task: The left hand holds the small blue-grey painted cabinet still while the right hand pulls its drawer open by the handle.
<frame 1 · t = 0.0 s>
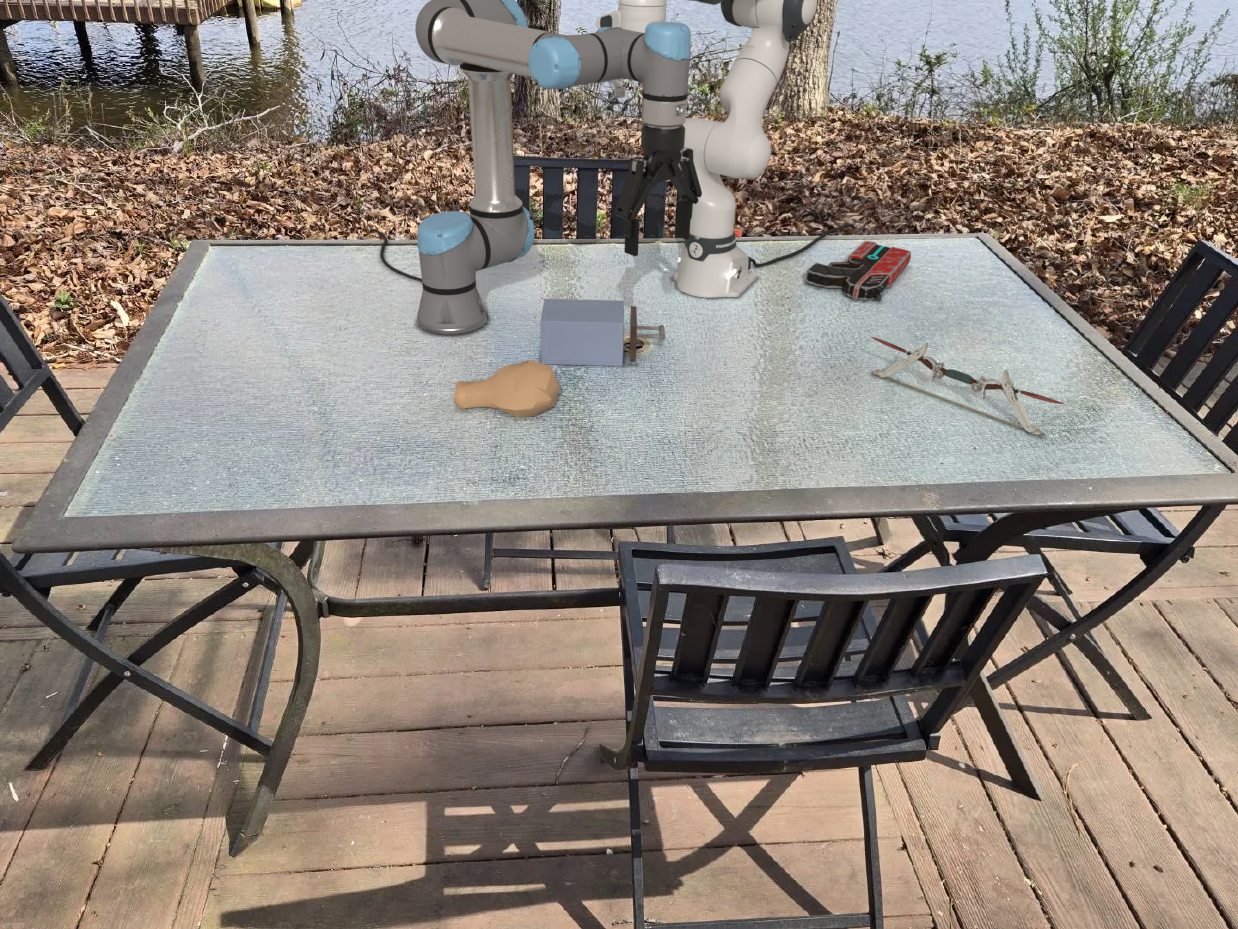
left hand: (657, 245, 161), 28 cm above the table, tool pointing down, fingers open, 13 cm apart
right hand: (639, 100, 170), 48 cm above the table, tool pointing down, fingers open, 8 cm apart
cabinet: (583, 352, 186), on the table
drawer: (613, 332, 183), point 5 cm above the table, slide at 1.5 cm
squash: (507, 408, 165), on the table
bow: (952, 403, 172), on the table
gun: (859, 277, 226), on the table
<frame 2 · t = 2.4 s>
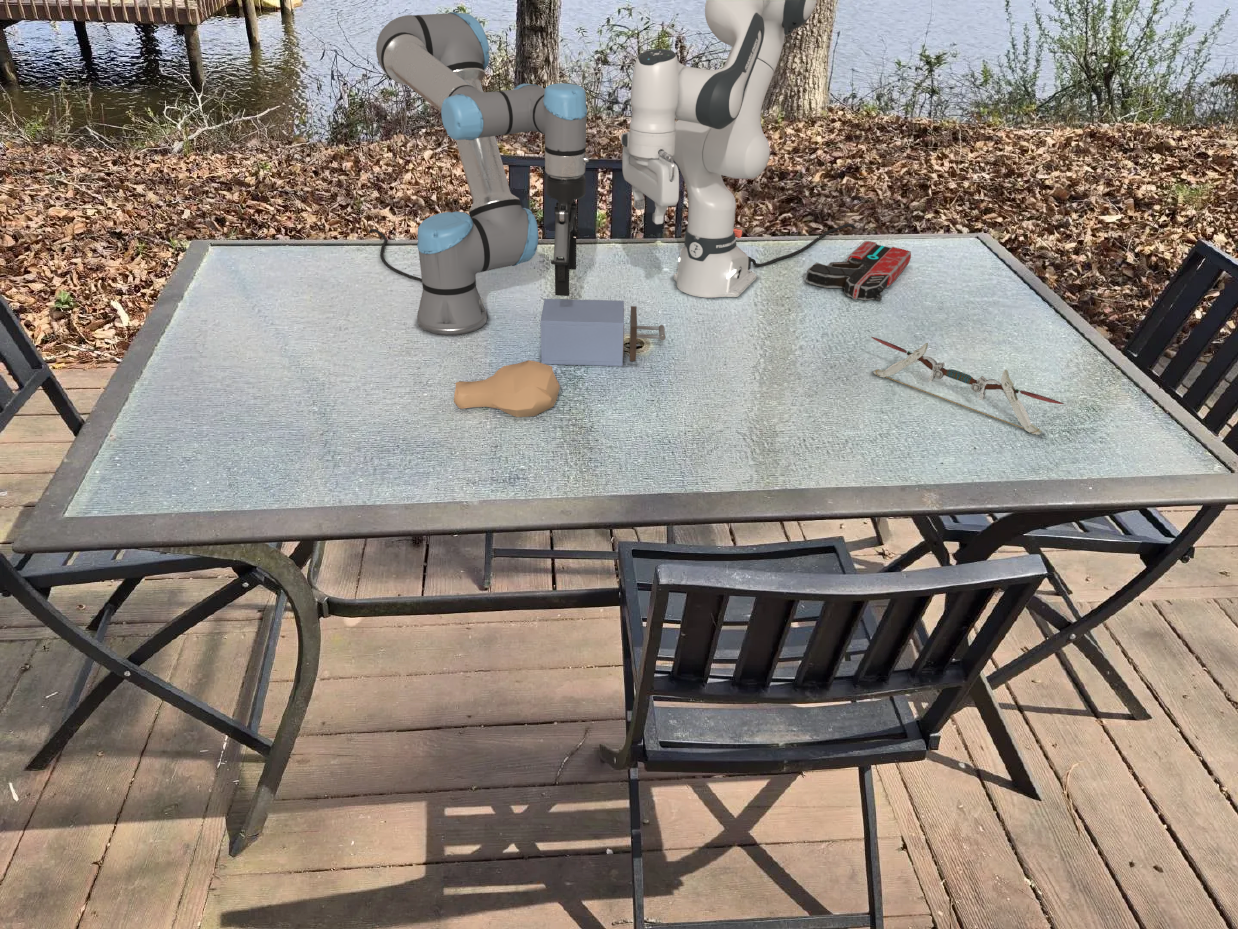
left hand: (566, 281, 176), 16 cm above the table, tool pointing down, fingers open, 13 cm apart
right hand: (648, 215, 175), 28 cm above the table, tool pointing down, fingers open, 8 cm apart
nothing on the table moved.
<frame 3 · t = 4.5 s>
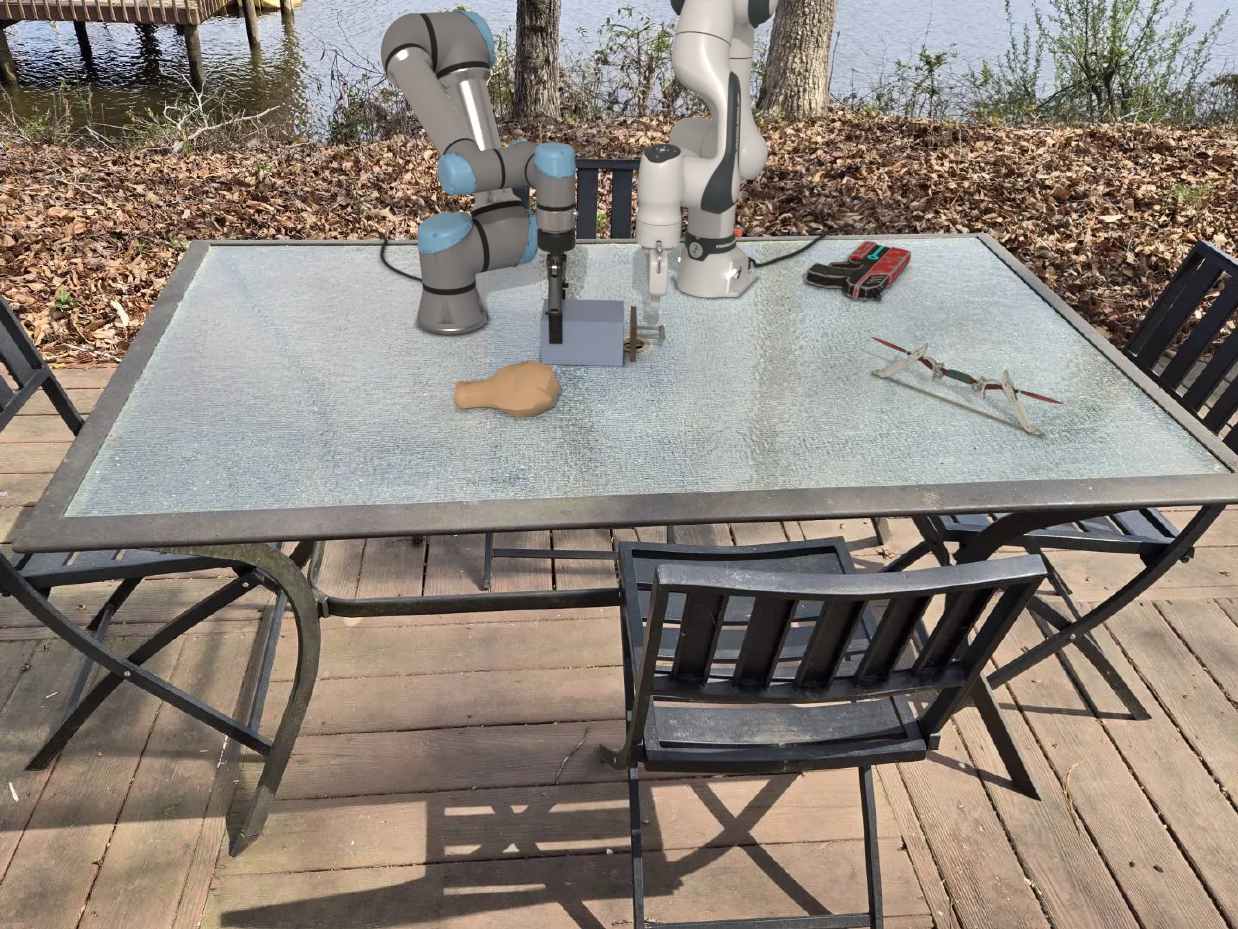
left hand: (557, 330, 183), 5 cm above the table, tool pointing down, fingers closed on cabinet, 11 cm apart
right hand: (654, 299, 179), 12 cm above the table, tool pointing down, fingers open, 5 cm apart
cabinet: (583, 352, 186), on the table, touching left hand
everything else where it was.
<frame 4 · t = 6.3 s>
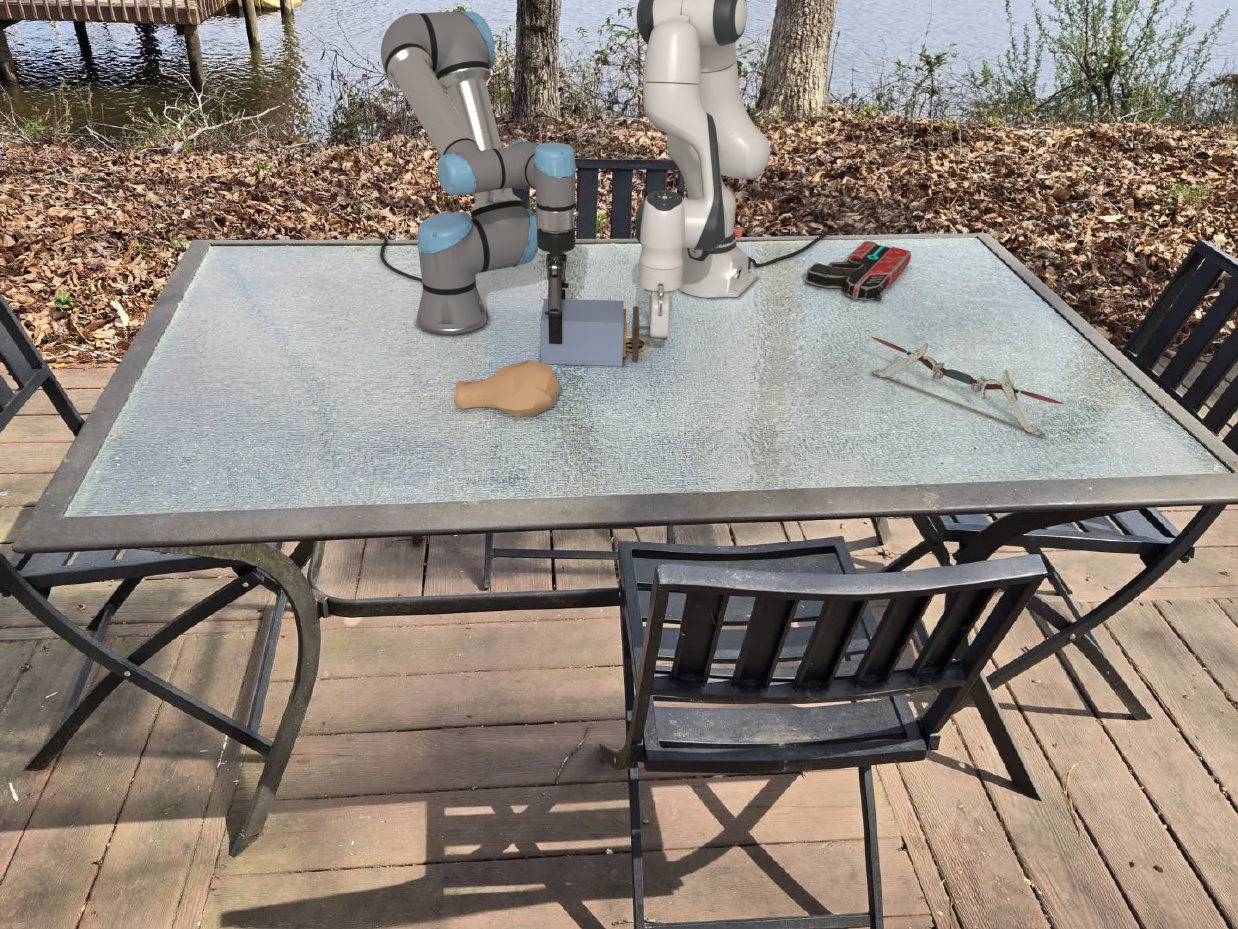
left hand: (557, 330, 183), 5 cm above the table, tool pointing down, fingers closed on cabinet, 11 cm apart
right hand: (656, 338, 184), 4 cm above the table, tool pointing down, fingers closed, pressing on drawer
cabinet: (582, 352, 186), on the table, touching left hand
drawer: (615, 332, 183), point 5 cm above the table, slide at 2.0 cm, touching right hand
everything else where it was.
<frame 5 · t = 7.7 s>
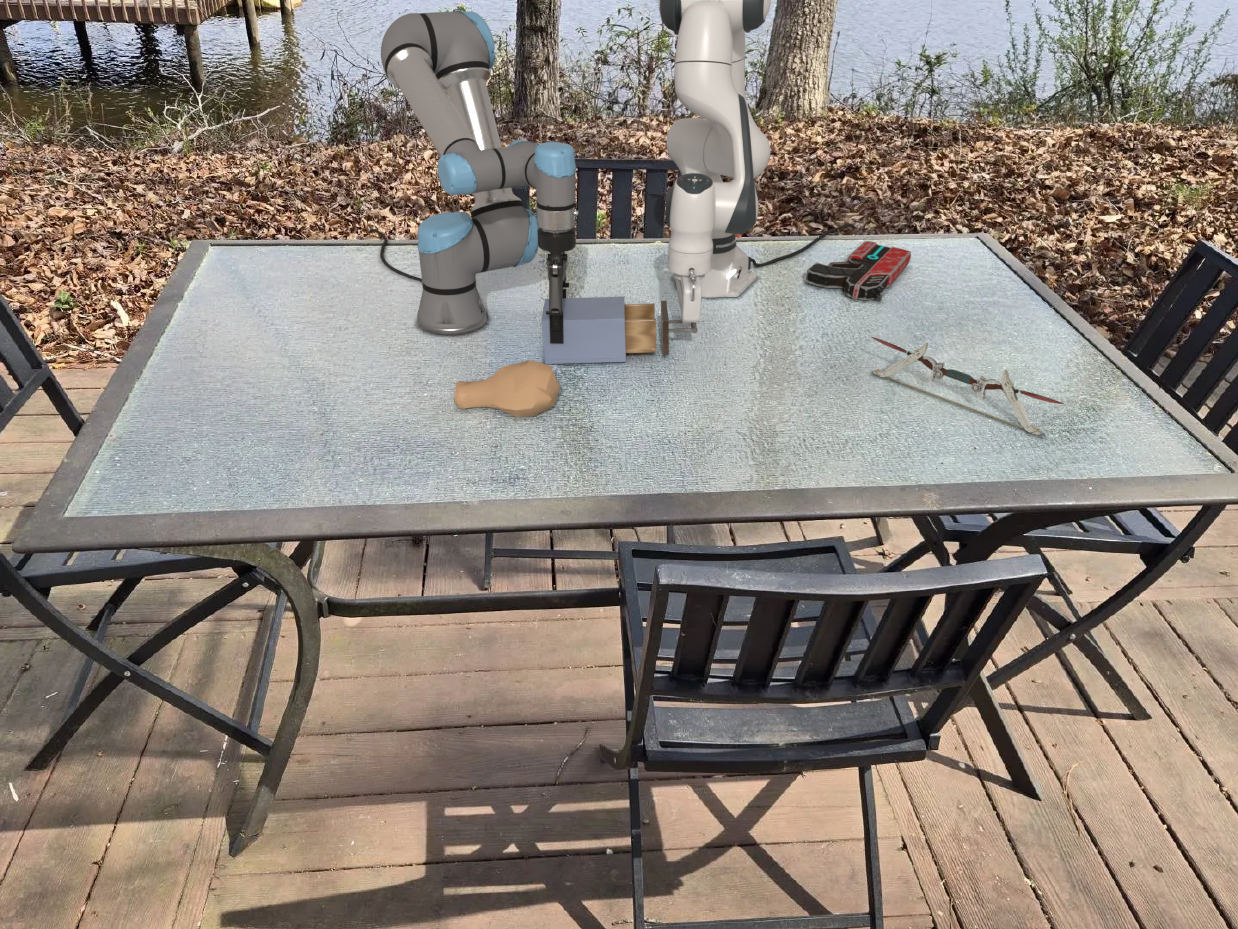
left hand: (558, 330, 183), 5 cm above the table, tool pointing down, fingers closed on cabinet, 11 cm apart
right hand: (686, 323, 182), 7 cm above the table, tool pointing down, fingers closed
cabinet: (586, 350, 186), on the table, touching left hand
drawer: (644, 328, 183), point 6 cm above the table, slide at 7.7 cm
everything else where it was.
when the left hand's fingers open (5 cm above the table, at t = 9.0 s): cabinet stays where it is, on the table.
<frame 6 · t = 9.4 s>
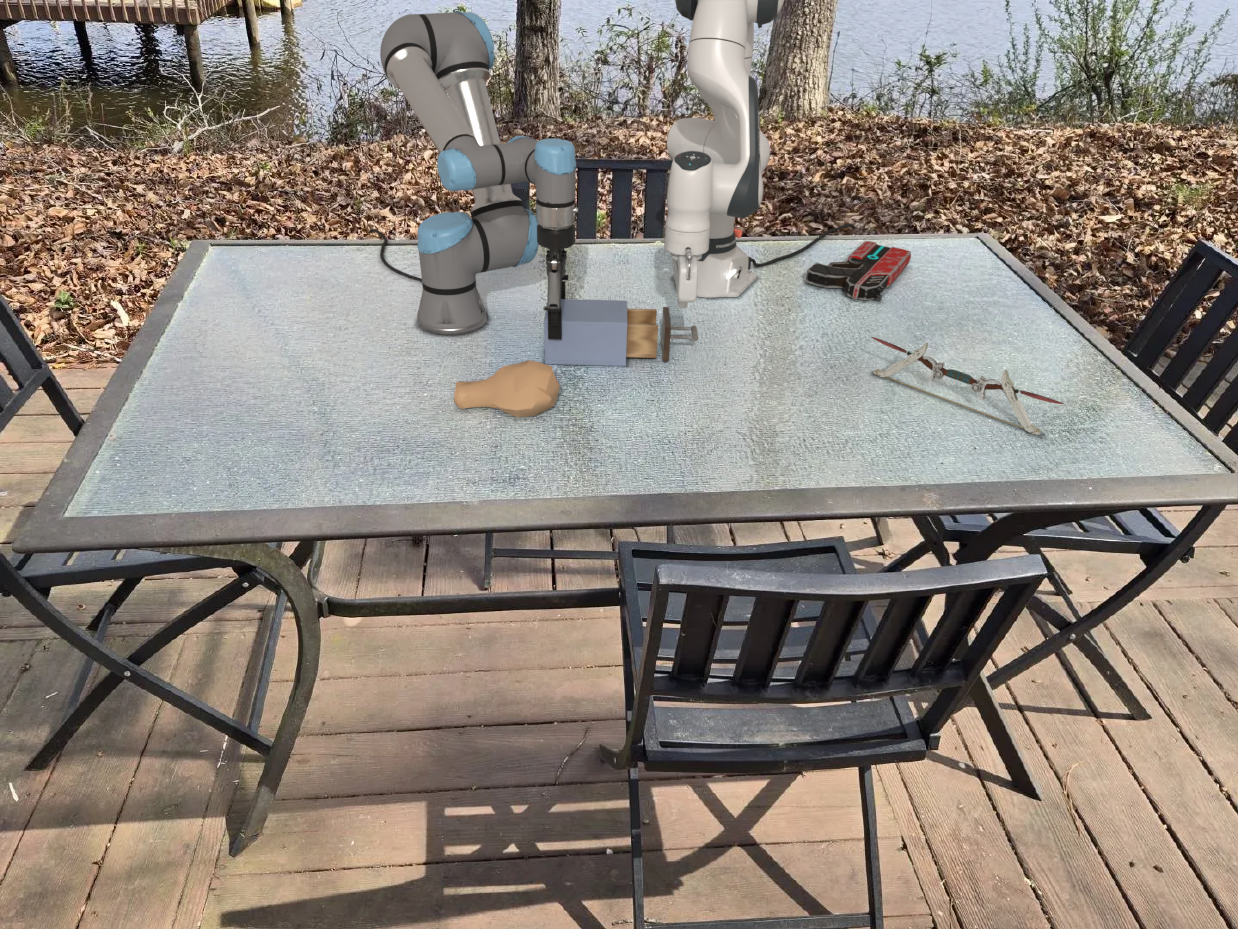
left hand: (557, 324, 182), 6 cm above the table, tool pointing down, fingers open, 13 cm apart
right hand: (682, 305, 180), 11 cm above the table, tool pointing down, fingers closed
cabinet: (586, 352, 186), on the table
drawer: (645, 333, 183), point 5 cm above the table, slide at 7.7 cm
everything else where it was.
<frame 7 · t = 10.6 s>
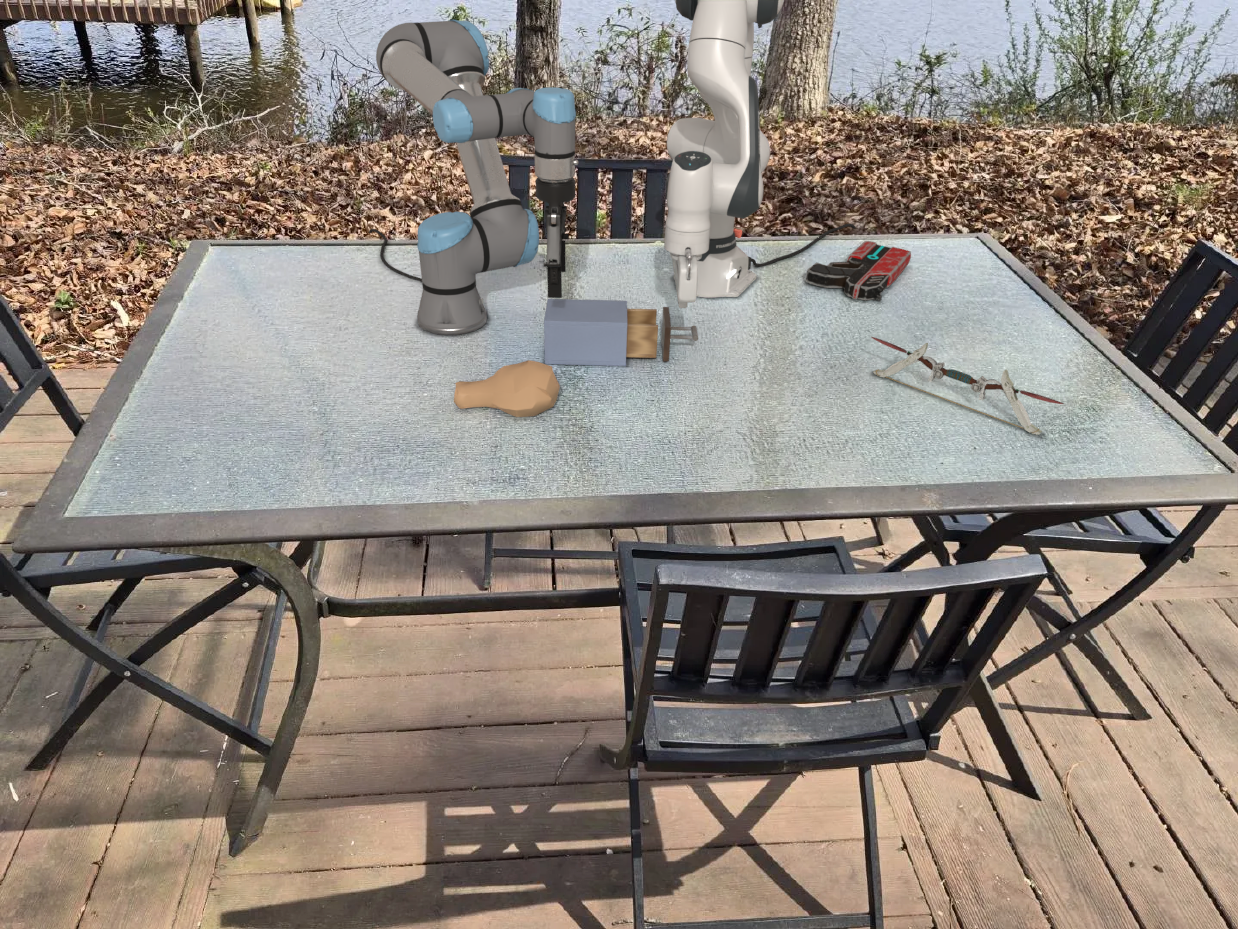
left hand: (557, 283, 177), 15 cm above the table, tool pointing down, fingers open, 13 cm apart
right hand: (682, 305, 180), 11 cm above the table, tool pointing down, fingers closed
nothing on the table moved.
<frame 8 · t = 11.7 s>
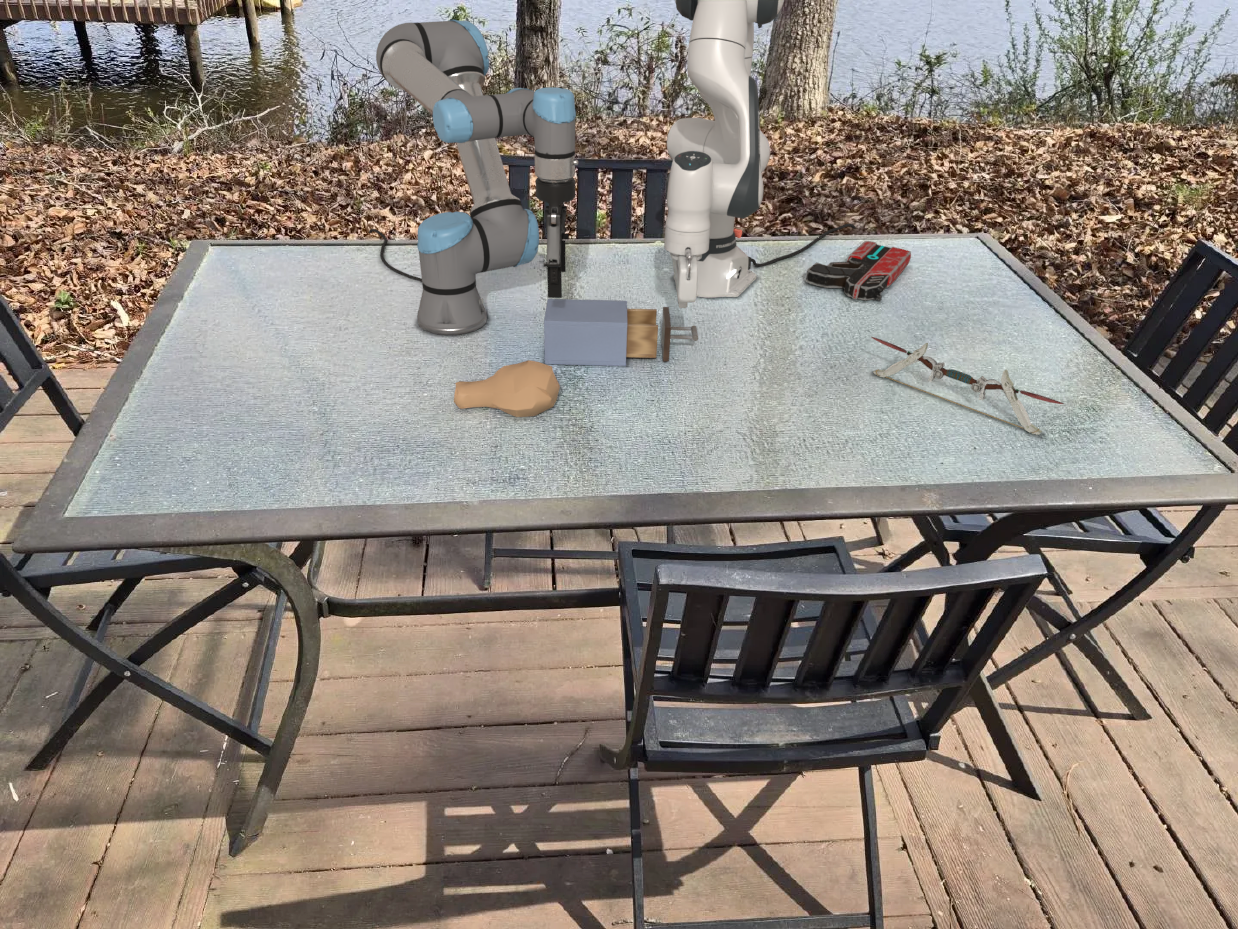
left hand: (557, 283, 177), 15 cm above the table, tool pointing down, fingers open, 13 cm apart
right hand: (682, 305, 180), 11 cm above the table, tool pointing down, fingers closed
nothing on the table moved.
at the end: drawer slide at 7.7 cm; cabinet tilted 0°; cabinet never tilted more than 4° during the clip; cabinet moved 0.7 cm from its start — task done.
